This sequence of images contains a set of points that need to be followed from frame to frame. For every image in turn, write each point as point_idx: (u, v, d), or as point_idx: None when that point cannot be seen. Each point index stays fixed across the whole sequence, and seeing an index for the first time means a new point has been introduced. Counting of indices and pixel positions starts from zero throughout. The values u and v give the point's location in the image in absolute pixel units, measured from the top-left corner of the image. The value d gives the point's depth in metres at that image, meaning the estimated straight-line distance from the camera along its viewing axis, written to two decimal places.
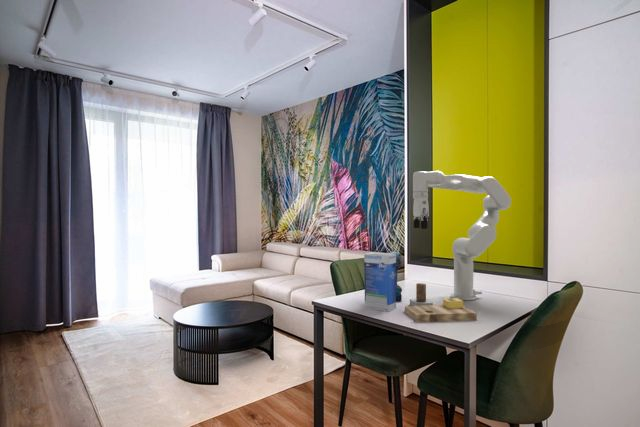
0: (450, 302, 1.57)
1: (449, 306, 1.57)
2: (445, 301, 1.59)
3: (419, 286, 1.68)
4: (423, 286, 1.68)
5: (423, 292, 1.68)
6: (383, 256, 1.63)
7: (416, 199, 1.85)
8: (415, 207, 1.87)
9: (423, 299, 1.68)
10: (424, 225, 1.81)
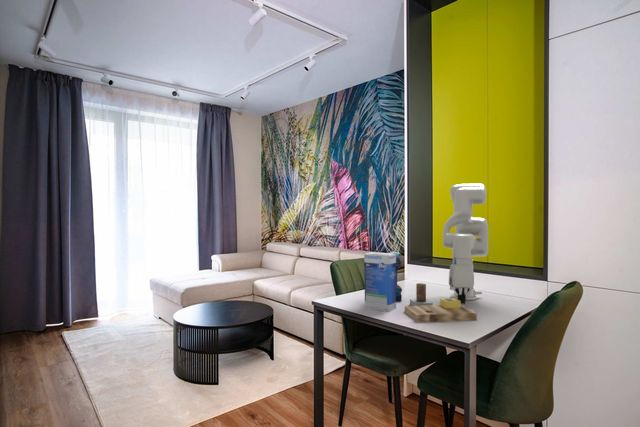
0: (447, 302, 1.57)
1: (446, 306, 1.57)
2: (442, 301, 1.59)
3: (419, 286, 1.68)
4: (423, 286, 1.68)
5: (423, 292, 1.68)
6: (383, 256, 1.63)
7: (466, 267, 1.58)
8: (463, 277, 1.58)
9: (423, 299, 1.68)
10: None
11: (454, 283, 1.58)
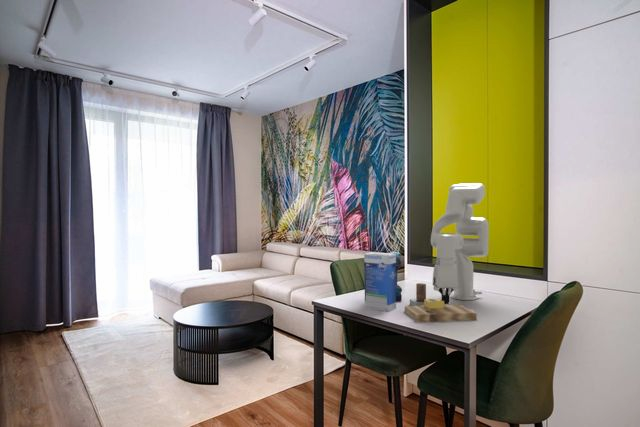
0: (431, 303, 1.56)
1: (430, 307, 1.56)
2: (426, 302, 1.58)
3: (419, 286, 1.68)
4: (423, 286, 1.68)
5: (423, 292, 1.68)
6: (383, 256, 1.63)
7: (450, 267, 1.57)
8: (447, 277, 1.57)
9: (423, 299, 1.68)
10: None
11: (438, 283, 1.57)
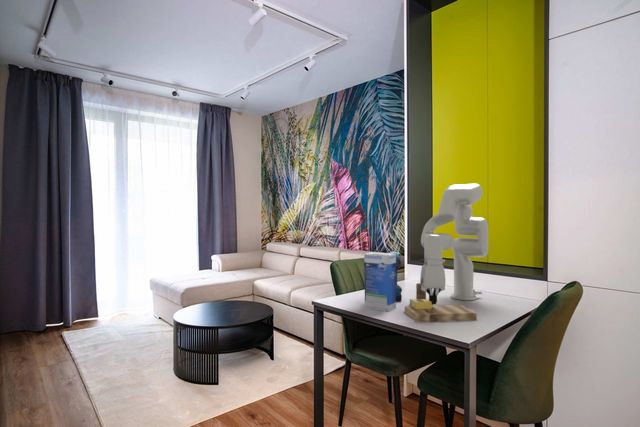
0: (418, 303, 1.55)
1: (417, 307, 1.55)
2: (413, 302, 1.58)
3: (419, 286, 1.68)
4: None
5: (423, 292, 1.68)
6: (383, 256, 1.63)
7: (437, 268, 1.56)
8: (434, 277, 1.56)
9: None
10: None
11: (425, 284, 1.56)
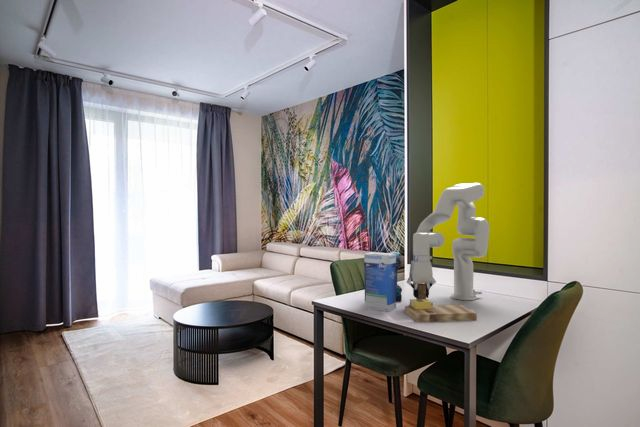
0: (418, 303, 1.55)
1: (417, 307, 1.55)
2: (413, 302, 1.58)
3: (419, 286, 1.68)
4: (423, 286, 1.68)
5: (423, 292, 1.68)
6: (383, 256, 1.63)
7: (425, 264, 1.68)
8: (422, 272, 1.67)
9: None
10: None
11: (413, 278, 1.67)
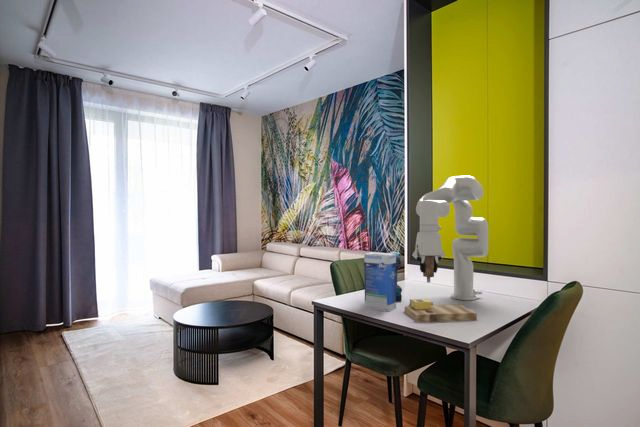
0: (418, 303, 1.55)
1: (417, 307, 1.55)
2: (413, 302, 1.58)
3: (426, 259, 1.51)
4: (431, 259, 1.50)
5: (431, 266, 1.50)
6: (383, 256, 1.63)
7: (433, 234, 1.50)
8: (430, 244, 1.50)
9: (431, 274, 1.50)
10: None
11: (420, 251, 1.50)
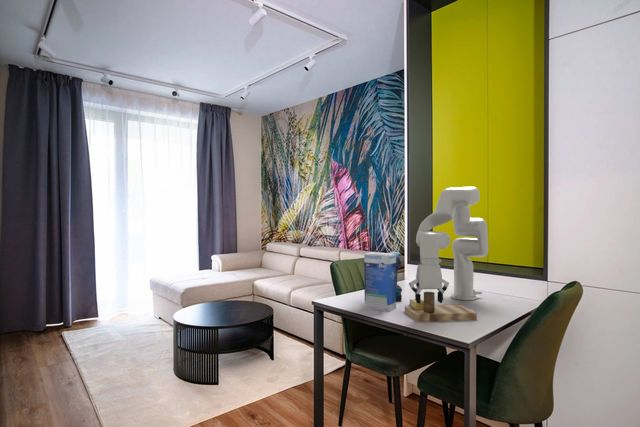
0: None
1: (417, 307, 1.55)
2: (413, 302, 1.58)
3: (427, 295, 1.50)
4: (431, 295, 1.50)
5: (431, 302, 1.50)
6: (383, 256, 1.63)
7: (433, 267, 1.49)
8: (430, 277, 1.49)
9: (431, 310, 1.50)
10: None
11: (420, 284, 1.49)
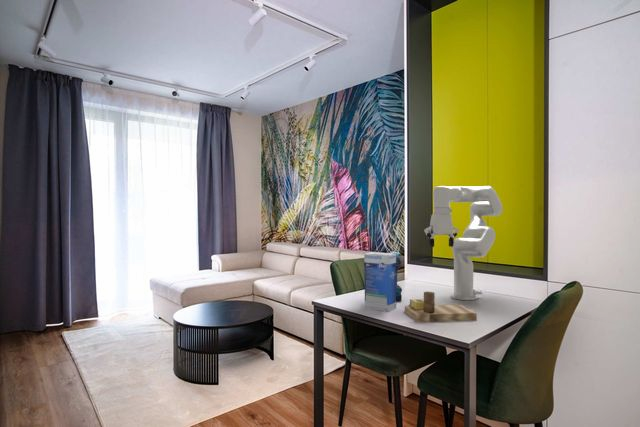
0: (418, 303, 1.55)
1: (417, 307, 1.55)
2: (413, 302, 1.58)
3: (427, 295, 1.50)
4: (431, 295, 1.50)
5: (431, 302, 1.50)
6: (383, 256, 1.63)
7: (445, 216, 1.73)
8: (442, 224, 1.73)
9: (431, 310, 1.50)
10: None
11: (434, 230, 1.73)
